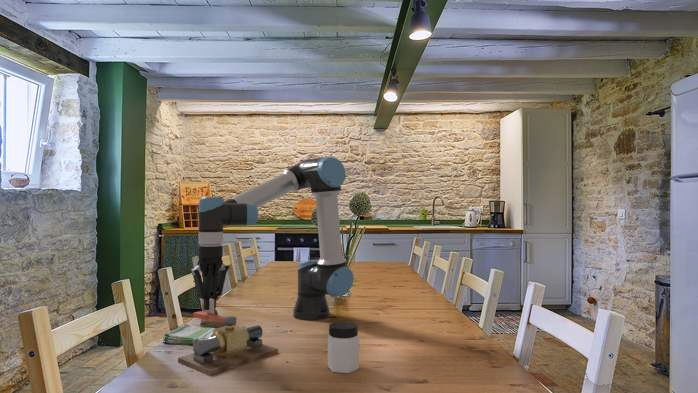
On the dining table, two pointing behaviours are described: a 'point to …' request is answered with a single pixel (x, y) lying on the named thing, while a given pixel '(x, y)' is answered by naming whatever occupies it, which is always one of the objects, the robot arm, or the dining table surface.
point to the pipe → (212, 322)
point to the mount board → (228, 360)
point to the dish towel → (187, 335)
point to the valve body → (227, 342)
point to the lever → (215, 317)
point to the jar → (343, 347)
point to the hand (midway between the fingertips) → (209, 319)
